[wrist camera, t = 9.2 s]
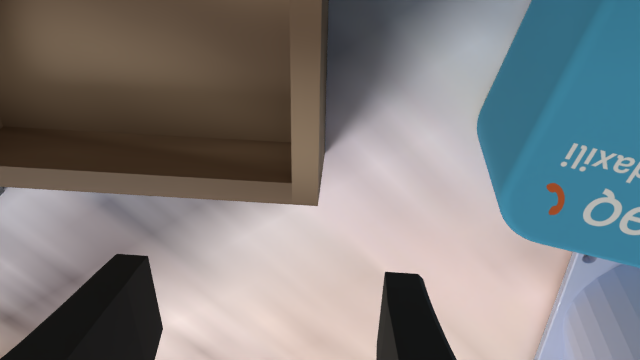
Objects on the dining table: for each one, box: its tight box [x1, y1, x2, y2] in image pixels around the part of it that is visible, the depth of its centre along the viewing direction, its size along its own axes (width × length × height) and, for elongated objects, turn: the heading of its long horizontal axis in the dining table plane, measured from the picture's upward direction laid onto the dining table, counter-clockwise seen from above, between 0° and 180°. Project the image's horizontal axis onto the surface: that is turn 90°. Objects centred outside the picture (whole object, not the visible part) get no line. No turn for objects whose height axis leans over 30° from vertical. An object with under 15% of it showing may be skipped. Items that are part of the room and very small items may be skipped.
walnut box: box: [0, 0, 329, 206], centre depth 16 cm, size 11×12×3 cm
